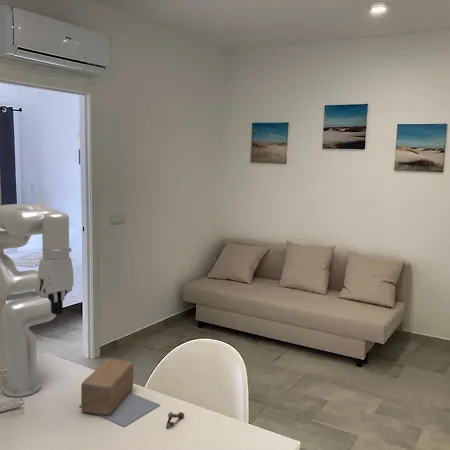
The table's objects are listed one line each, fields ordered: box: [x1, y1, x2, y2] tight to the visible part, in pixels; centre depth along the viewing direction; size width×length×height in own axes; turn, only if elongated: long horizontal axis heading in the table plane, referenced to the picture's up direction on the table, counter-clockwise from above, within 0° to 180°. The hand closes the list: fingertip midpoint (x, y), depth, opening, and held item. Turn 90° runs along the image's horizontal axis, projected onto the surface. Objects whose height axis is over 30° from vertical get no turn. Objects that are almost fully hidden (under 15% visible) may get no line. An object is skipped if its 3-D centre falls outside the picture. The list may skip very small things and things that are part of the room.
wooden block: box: [80, 358, 134, 415], centre depth 165 cm, size 10×10×20 cm
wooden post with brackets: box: [165, 411, 185, 429], centre depth 154 cm, size 2×8×4 cm, turn 151°
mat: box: [79, 391, 161, 428], centre depth 163 cm, size 20×16×1 cm
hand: (56, 313), depth 151 cm, fingers closed
